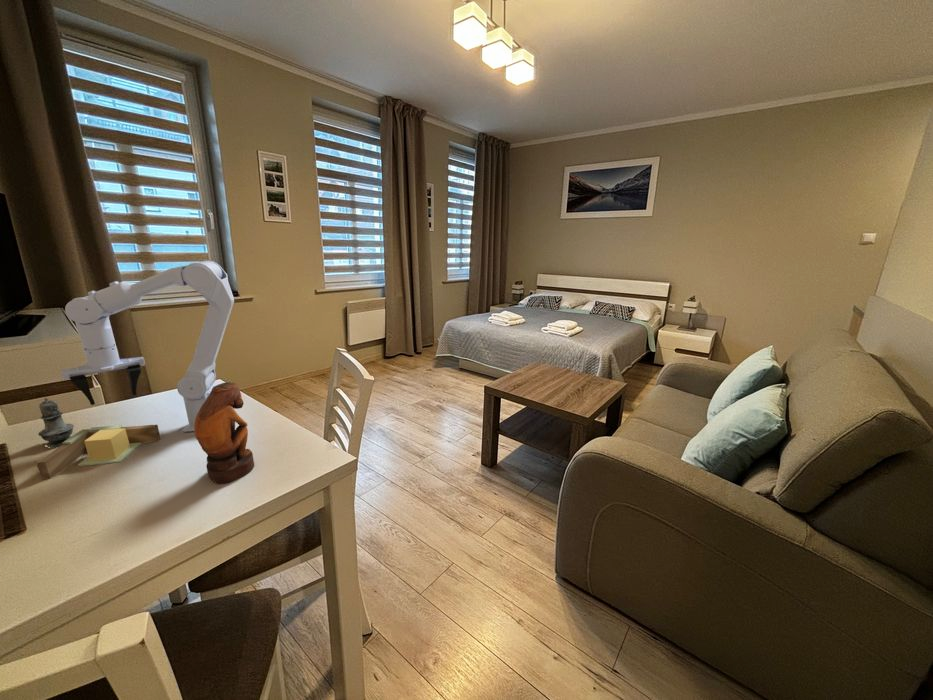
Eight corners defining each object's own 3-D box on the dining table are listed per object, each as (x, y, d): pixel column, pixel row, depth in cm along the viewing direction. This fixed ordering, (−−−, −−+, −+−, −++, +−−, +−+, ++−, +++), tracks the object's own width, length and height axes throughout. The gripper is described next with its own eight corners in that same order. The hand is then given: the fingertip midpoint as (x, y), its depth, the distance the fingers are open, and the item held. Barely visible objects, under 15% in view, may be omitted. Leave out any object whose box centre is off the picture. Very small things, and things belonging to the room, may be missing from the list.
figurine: (264, 463, 85) (251, 382, 79) (225, 488, 76) (208, 400, 70) (235, 455, 87) (221, 376, 81) (195, 478, 79) (176, 392, 73)
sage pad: (141, 443, 91) (141, 442, 91) (120, 462, 83) (120, 460, 83) (102, 446, 89) (102, 445, 89) (78, 466, 82) (77, 464, 81)
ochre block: (130, 446, 89) (125, 428, 87) (116, 458, 84) (110, 439, 83) (105, 448, 88) (100, 429, 86) (90, 460, 83) (84, 441, 82)
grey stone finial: (54, 450, 87) (39, 404, 83) (35, 447, 88) (19, 401, 84) (84, 438, 92) (70, 394, 89) (66, 435, 94) (51, 391, 90)
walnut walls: (160, 438, 93) (156, 422, 92) (126, 470, 80) (121, 453, 79) (89, 444, 90) (84, 427, 88) (42, 479, 77) (35, 460, 76)
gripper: (56, 357, 80) (74, 413, 84) (142, 344, 91) (154, 394, 95) (54, 350, 84) (71, 404, 88) (136, 338, 95) (148, 387, 99)
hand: (114, 398), depth 92 cm, fingers open, 7 cm apart
